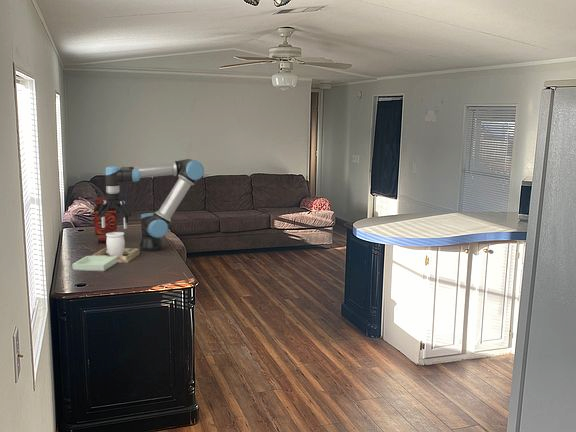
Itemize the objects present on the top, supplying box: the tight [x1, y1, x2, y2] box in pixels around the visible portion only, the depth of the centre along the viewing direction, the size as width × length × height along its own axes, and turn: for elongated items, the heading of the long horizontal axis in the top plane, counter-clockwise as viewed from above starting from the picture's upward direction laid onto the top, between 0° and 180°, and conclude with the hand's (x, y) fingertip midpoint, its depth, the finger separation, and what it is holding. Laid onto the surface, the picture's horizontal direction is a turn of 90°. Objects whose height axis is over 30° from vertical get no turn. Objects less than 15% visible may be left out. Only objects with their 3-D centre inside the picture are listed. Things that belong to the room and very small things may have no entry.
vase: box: [93, 196, 118, 246], centre depth 380 cm, size 14×14×30 cm
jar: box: [106, 231, 126, 256], centre depth 344 cm, size 11×10×15 cm
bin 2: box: [90, 246, 141, 264], centre depth 345 cm, size 22×20×4 cm
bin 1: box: [72, 255, 118, 272], centre depth 326 cm, size 18×18×4 cm
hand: (114, 227), depth 342 cm, fingers open, 13 cm apart
